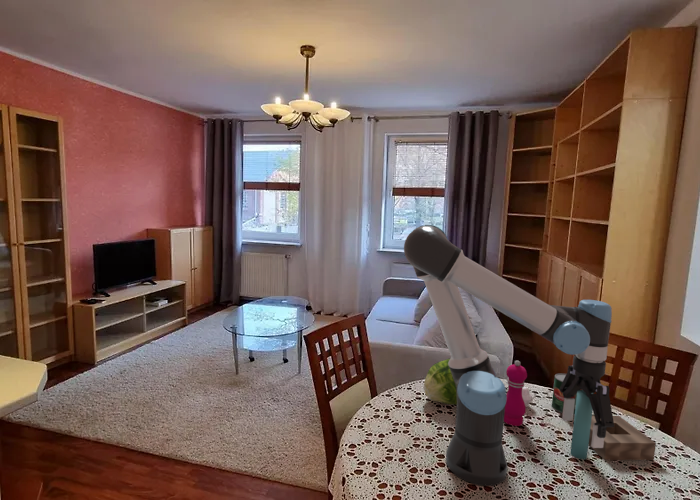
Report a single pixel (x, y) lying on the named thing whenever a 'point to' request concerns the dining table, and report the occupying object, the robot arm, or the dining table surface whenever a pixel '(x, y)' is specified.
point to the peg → (581, 426)
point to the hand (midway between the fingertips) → (581, 432)
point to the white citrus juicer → (526, 396)
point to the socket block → (624, 442)
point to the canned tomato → (559, 394)
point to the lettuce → (440, 384)
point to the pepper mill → (515, 395)
